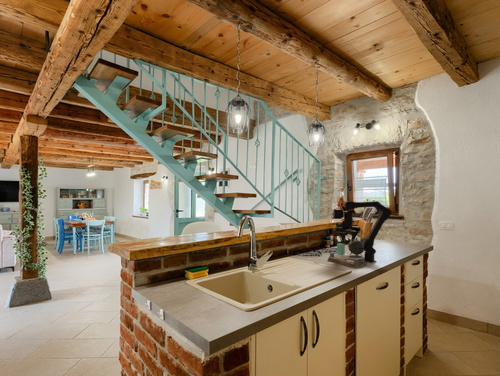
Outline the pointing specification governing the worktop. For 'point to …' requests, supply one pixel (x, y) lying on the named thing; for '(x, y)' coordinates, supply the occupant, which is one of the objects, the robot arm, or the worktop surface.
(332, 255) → the rail board
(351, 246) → the alarm clock
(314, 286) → the worktop surface
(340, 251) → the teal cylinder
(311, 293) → the worktop surface
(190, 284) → the worktop surface
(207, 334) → the worktop surface
